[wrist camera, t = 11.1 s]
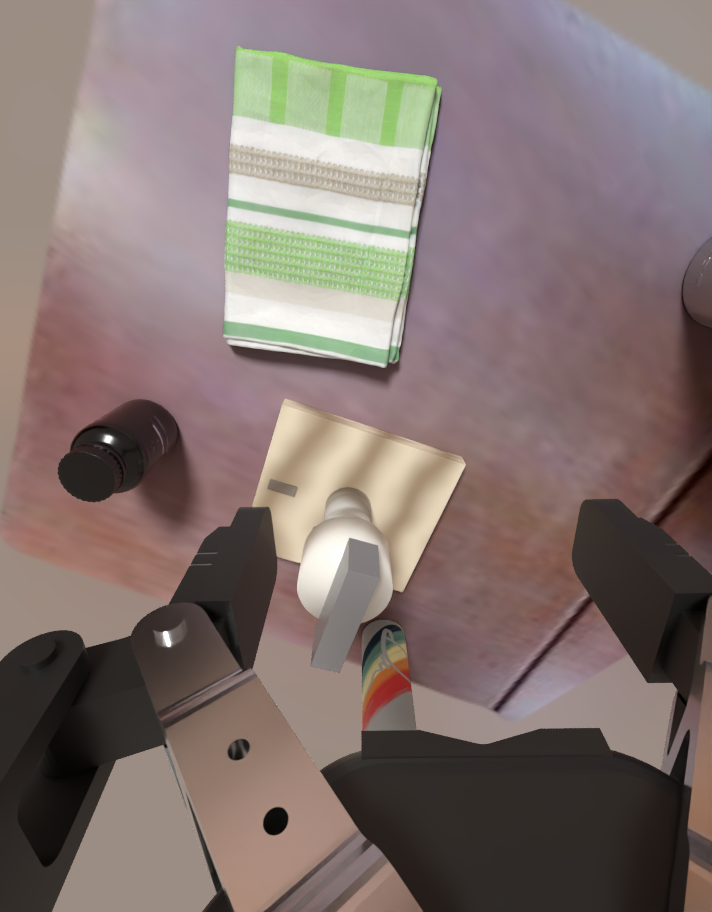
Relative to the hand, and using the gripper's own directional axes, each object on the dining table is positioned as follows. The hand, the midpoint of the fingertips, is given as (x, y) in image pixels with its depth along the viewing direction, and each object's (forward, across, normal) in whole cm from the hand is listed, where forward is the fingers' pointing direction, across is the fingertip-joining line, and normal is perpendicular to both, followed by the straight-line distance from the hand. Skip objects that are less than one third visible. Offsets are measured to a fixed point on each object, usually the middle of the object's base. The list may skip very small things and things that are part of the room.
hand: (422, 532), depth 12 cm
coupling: (+25, +4, +19) cm, 32 cm away
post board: (+36, +4, +19) cm, 41 cm away
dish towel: (+36, +5, -9) cm, 38 cm away
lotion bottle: (+36, 0, +40) cm, 54 cm away
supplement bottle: (+36, +25, +10) cm, 45 cm away
